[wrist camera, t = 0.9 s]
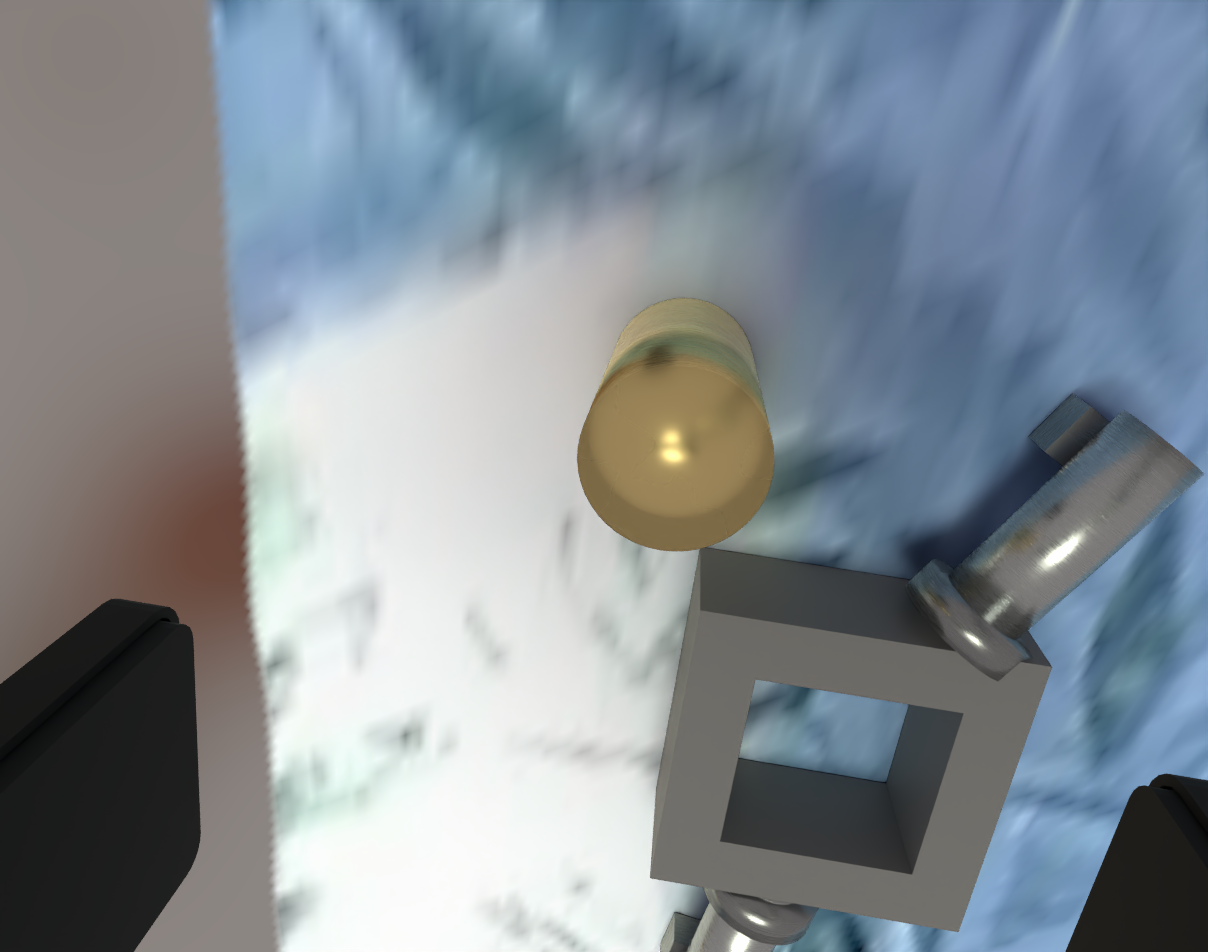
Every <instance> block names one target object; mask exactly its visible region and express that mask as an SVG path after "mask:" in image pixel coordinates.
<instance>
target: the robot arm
mask: <svg viewBox="0 0 1208 952" xmlns="http://www.w3.org/2000/svg"><path fill="white" fill-rule="evenodd" d="M193 647H194V646H193V635H192V631H191V629H190V627H188V626H187V625H184V624H179V618H178V616H177V614H176V612H175V611H174V610H173V609H171V608H170V607H165V606H159V605H153V604H147V603H141V602H135V601H129V600H123V599H111V600H109V601H107V602H105V603H103V604H102V605H101V606H99V607H98V608H97V609H96V610H94V611H93V612H92V613H90V614H89V615H88V616H87V617H85V618H84V619H83V620H82V621H80V622H79V623H78V624H76V625H75V626H74V627H73V628H71V629H70V630H69V631H67V632H66V633H65V634H64V635H62V636H61V637H60V638H59V639H57V640H56V641H55V642H54V643H52V644H51V645H50V646H48V647H47V648H46V649H45V650H43V651H42V652H41V653H39V654H38V655H37V656H36V657H34V658H33V659H32V660H31V661H29V662H28V663H27V664H25V665H24V666H23V667H22V668H20V669H19V670H18V671H17V672H15V673H14V674H13V675H12V676H10V677H9V678H8V679H6V680H5V681H4V682H3V683H1V684H0V952H134V951H135V949H136V947H137V946H138V945H139V943H140V942H141V940H142V939H143V938H144V936H145V935H146V933H147V932H148V930H149V929H150V928H151V926H152V925H153V923H154V922H155V920H156V919H157V917H158V916H159V915H160V913H161V912H162V910H163V909H164V907H165V906H166V904H167V903H168V902H169V900H170V899H171V897H172V896H173V894H174V893H175V891H176V890H177V889H178V887H179V886H180V884H181V883H182V881H183V880H184V878H185V877H186V876H187V874H188V872H189V871H190V869H191V867H192V865H193V862H194V860H195V858H196V855H197V852H198V848H199V843H200V834H201V830H200V803H199V778H198V753H197V752H198V751H197V724H196V698H195V671H194V648H193ZM1066 952H1208V780H1202V779H1196V778H1190V777H1184V776H1178V775H1172V774H1163V775H1158V776H1157V777H1156V778H1155V779H1154V780H1152V782H1151V783H1150V785H1149V786H1139V787H1138V788H1136V789H1135V790H1134V791H1133V793H1132V794H1131V796H1130V798H1129V800H1128V802H1127V805H1126V807H1125V810H1124V812H1123V815H1122V817H1121V819H1120V822H1119V824H1118V827H1117V829H1116V831H1115V834H1114V836H1113V839H1112V841H1111V843H1110V846H1109V848H1108V851H1107V853H1106V855H1105V858H1104V860H1103V863H1102V865H1101V867H1100V870H1099V872H1098V875H1097V877H1096V879H1095V882H1094V884H1093V887H1092V889H1091V891H1090V894H1089V896H1088V899H1087V901H1086V904H1085V906H1084V908H1083V911H1082V913H1081V916H1080V918H1079V920H1078V923H1077V925H1076V928H1075V930H1074V932H1073V935H1072V937H1071V940H1070V942H1069V944H1068V947H1067V949H1066Z"/></svg>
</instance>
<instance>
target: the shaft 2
mask: <svg viewBox="0 0 1208 952" xmlns="http://www.w3.org/2000/svg"><path fill="white" fill-rule="evenodd" d="M1029 438H1030V439H1032V440H1033V441H1034V442H1035V443H1036V444H1037V445H1038V446H1039V447H1040V448H1041V449H1042V450H1043V451H1045V452H1046V453H1047V454H1048V455H1049V456H1051V457H1052V458H1053V459H1054V460H1055V461H1057V462H1058V463H1059V464H1060V465H1061V466H1063V467H1062V468H1061V469H1060V470H1059V471H1058V472H1057V473H1056V474H1055V475H1054V476H1053V477H1052V478H1050V479H1049V480H1048V481H1047V482H1046V483H1045V484H1044V485H1043V486H1042V487H1041V488H1040V489H1039V490H1038V491H1037V492H1036V493H1035V494H1034V495H1033V496H1031V497H1030V498H1029V499H1028V500H1027V501H1026V502H1025V503H1024V504H1023V505H1022V506H1021V507H1020V508H1019V509H1018V510H1017V511H1016V512H1015V513H1013V514H1012V515H1011V516H1010V517H1009V518H1008V519H1007V520H1006V521H1005V522H1004V523H1003V524H1002V525H1001V526H1000V527H999V528H998V529H997V530H996V531H994V532H993V533H992V534H991V535H990V536H989V537H988V538H987V539H986V540H985V541H984V542H983V543H982V544H981V545H980V546H979V547H978V548H977V549H975V550H974V551H973V552H972V553H971V554H970V555H969V556H968V557H967V558H966V559H965V560H964V561H963V562H962V563H961V564H960V565H959V566H958V567H956V568H955V569H953V568H952V567H950V566H949V565H947V564H945V563H944V562H942V561H940V560H937V559H932V560H931V561H930V562H929V563H928V564H927V565H926V566H925V567H924V568H923V569H922V570H921V571H920V572H919V573H917V574H916V575H915V576H914V577H913V578H912V579H911V580H910V581H909V582H908V583H907V584H906V586H905V588H906V592H907V594H908V596H909V598H910V600H911V601H912V603H913V604H914V606H915V607H916V609H917V610H918V611H919V613H920V614H921V615H922V616H923V618H924V619H925V620H926V621H927V622H928V624H929V625H930V626H931V627H932V628H933V629H934V630H935V631H936V632H937V633H938V634H939V636H940V637H941V638H942V639H943V640H944V641H945V642H946V643H948V644H949V645H950V646H951V647H952V648H953V649H954V650H955V651H956V652H957V653H958V654H959V655H961V656H962V657H963V658H964V659H965V660H966V661H968V662H969V663H970V664H971V665H973V666H974V667H975V668H977V669H978V670H979V671H981V672H982V673H984V674H985V675H987V676H988V677H990V678H992V679H994V680H996V681H1000V680H1001V679H1002V678H1003V677H1004V676H1005V675H1006V674H1008V673H1009V672H1010V671H1011V670H1012V669H1013V668H1014V667H1016V666H1017V665H1018V664H1019V663H1020V662H1023V661H1027V660H1030V659H1032V658H1033V656H1032V655H1031V653H1030V652H1029V650H1028V649H1027V647H1026V645H1025V644H1024V642H1023V641H1022V639H1021V638H1020V637H1021V636H1022V635H1023V634H1024V633H1026V632H1027V631H1028V630H1029V629H1030V628H1031V627H1032V626H1033V625H1035V624H1036V623H1037V622H1038V621H1039V620H1040V619H1041V618H1043V617H1044V616H1045V615H1046V614H1047V613H1048V612H1049V611H1050V610H1052V609H1053V608H1054V607H1055V606H1056V605H1057V604H1058V603H1059V602H1061V601H1062V600H1063V599H1064V598H1065V597H1066V596H1067V595H1069V594H1070V593H1071V592H1072V591H1073V590H1074V589H1075V588H1076V587H1078V586H1079V585H1080V584H1081V583H1082V582H1083V581H1084V580H1086V579H1087V578H1088V577H1089V576H1090V575H1091V574H1092V573H1093V572H1095V571H1096V570H1097V569H1098V568H1099V567H1100V566H1101V565H1102V564H1104V563H1105V562H1106V561H1107V560H1108V559H1109V558H1110V557H1112V556H1113V555H1114V554H1115V553H1116V552H1117V551H1118V550H1119V549H1121V548H1122V547H1123V546H1124V545H1125V544H1126V543H1127V542H1128V541H1130V540H1131V539H1132V538H1133V537H1134V536H1135V535H1136V534H1138V533H1139V532H1140V531H1141V530H1142V529H1143V528H1144V527H1145V526H1147V525H1148V524H1149V523H1150V522H1151V521H1152V520H1153V519H1154V518H1156V517H1157V516H1158V515H1159V514H1160V513H1161V512H1162V511H1164V510H1165V509H1166V508H1167V507H1168V506H1169V505H1170V504H1171V503H1173V502H1174V501H1175V500H1176V499H1177V498H1178V497H1179V496H1180V495H1182V494H1183V493H1184V492H1185V491H1186V490H1187V489H1188V488H1190V487H1191V486H1192V485H1193V484H1194V483H1195V482H1196V481H1197V480H1199V479H1200V478H1201V477H1202V476H1203V475H1204V473H1203V472H1202V471H1201V470H1200V469H1199V468H1198V467H1196V466H1195V465H1194V464H1193V463H1192V462H1191V461H1190V460H1188V459H1187V458H1186V457H1185V456H1184V455H1183V454H1181V453H1180V452H1179V451H1178V450H1177V449H1175V448H1174V447H1173V446H1172V445H1170V444H1169V443H1168V442H1167V441H1165V440H1164V439H1163V438H1162V437H1160V436H1159V435H1158V434H1157V433H1155V432H1154V431H1153V430H1151V429H1150V428H1149V427H1147V426H1146V425H1145V424H1143V423H1142V422H1141V421H1139V420H1138V419H1137V418H1135V417H1134V416H1132V415H1131V414H1129V413H1128V412H1126V411H1125V410H1122V411H1121V412H1120V413H1119V414H1118V415H1117V416H1116V417H1115V418H1114V419H1113V420H1112V421H1111V422H1109V421H1107V420H1106V419H1105V418H1104V417H1103V416H1101V415H1100V414H1099V413H1098V412H1097V411H1096V410H1094V409H1093V408H1092V407H1091V406H1089V405H1088V404H1086V403H1085V402H1084V401H1082V400H1081V399H1079V398H1078V397H1076V396H1075V395H1074V394H1072V395H1070V396H1069V397H1068V398H1067V399H1066V400H1065V401H1064V402H1063V403H1062V404H1061V405H1060V406H1059V407H1058V408H1057V409H1056V410H1055V411H1054V412H1053V413H1052V414H1051V415H1050V416H1049V417H1048V418H1047V419H1046V420H1045V421H1044V422H1043V423H1042V424H1041V425H1040V426H1039V427H1038V428H1037V429H1036V430H1035V431H1034V432H1033V433H1032V434H1031V435H1030V436H1029Z"/></svg>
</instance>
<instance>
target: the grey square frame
mask: <svg viewBox="0 0 1208 952" xmlns="http://www.w3.org/2000/svg"><path fill="white" fill-rule="evenodd" d="M909 581H910V580H907V579H901V578H894V577H888V576H882V575H875V574H869V573H863V572H856V571H850V570H844V569H837V568H831V567H824V566H818V565H812V564H805V563H799V562H793V561H786V560H780V559H774V558H767V557H761V556H755V555H748V554H742V553H736V552H729V551H723V550H717V549H710V548H700V551H699V557H698V562H697V568H696V573H695V579H694V584H693V590H692V595H691V601H690V606H689V612H688V617H687V623H686V628H685V634H684V639H683V644H682V650H681V655H680V661H679V666H678V672H677V677H676V683H675V688H674V694H673V699H672V705H671V710H670V716H669V721H668V727H667V732H666V738H665V743H664V749H663V754H662V760H661V765H660V771H659V776H658V782H657V787H656V798H655V813H654V827H653V842H652V857H651V871H650V878H652V879H658V880H664V881H669V882H675V883H681V884H686V885H692V886H698V887H704V888H709V889H715V890H721V891H726V892H732V893H738V894H744V895H749V896H755V897H761V898H766V899H772V900H778V901H783V902H789V903H795V904H801V905H806V906H812V907H818V908H823V909H829V910H835V911H841V912H846V913H852V914H858V915H863V916H869V917H875V918H880V919H886V920H892V921H898V922H903V923H909V924H915V925H920V926H926V927H932V928H938V929H943V930H949V931H955V932H959V929H960V926H961V923H962V920H963V918H964V915H965V912H966V909H967V906H968V903H969V901H970V898H971V895H972V892H973V889H974V886H975V884H976V881H977V878H978V875H979V872H980V869H981V867H982V864H983V861H984V858H985V855H986V852H987V850H988V847H989V844H990V841H991V838H992V836H993V833H994V830H995V827H996V824H997V821H998V819H999V816H1000V813H1001V810H1002V807H1003V804H1004V802H1005V799H1006V796H1007V793H1008V790H1009V787H1010V785H1011V782H1012V779H1013V776H1014V773H1015V770H1016V768H1017V765H1018V762H1019V759H1020V756H1021V753H1022V751H1023V748H1024V745H1025V742H1026V739H1027V736H1028V734H1029V731H1030V728H1031V725H1032V722H1033V719H1034V717H1035V714H1036V711H1037V708H1038V705H1039V702H1040V700H1041V697H1042V694H1043V691H1044V688H1045V685H1046V683H1047V680H1048V677H1049V674H1050V671H1051V668H1052V666H1051V665H1050V663H1049V662H1048V660H1047V659H1046V657H1045V656H1044V654H1043V653H1042V651H1041V650H1040V648H1039V647H1038V645H1037V643H1036V642H1035V640H1034V639H1033V637H1032V636H1031V634H1030V633H1029V631H1027V632H1026V633H1024V634H1023V635H1022V636H1021V637H1020V638H1021V639H1022V641H1023V642H1024V644H1025V645H1026V647H1027V649H1028V650H1029V652H1030V653H1031V655H1032V656H1033V658H1032V659H1030V660H1027V661H1023V662H1020V663H1019V664H1018V665H1017V666H1016V667H1014V668H1013V669H1012V670H1011V671H1010V672H1009V673H1008V674H1006V675H1005V676H1004V677H1003V678H1002V679H1001V680H1000V681H996V680H994V679H992V678H990V677H988V676H987V675H985V674H984V673H982V672H981V671H979V670H978V669H977V668H975V667H974V666H973V665H971V664H970V663H969V662H968V661H966V660H965V659H964V658H963V657H962V656H961V655H959V654H958V653H957V652H956V651H955V650H954V649H953V648H952V647H951V646H950V645H949V644H948V643H946V642H945V641H944V640H943V639H942V638H941V637H940V636H939V634H938V633H937V632H936V631H935V630H934V629H933V628H932V627H931V626H930V625H929V624H928V622H927V621H926V620H925V619H924V618H923V616H922V615H921V614H920V613H919V611H918V610H917V609H916V607H915V606H914V604H913V603H912V601H911V600H910V598H909V596H908V594H907V592H906V588H905V586H906V584H907V583H908V582H909ZM755 679H757V680H764V681H770V682H776V683H782V684H788V685H794V686H800V687H806V688H812V689H818V690H825V691H831V692H837V693H843V694H849V695H855V696H861V697H867V698H873V699H879V700H886V701H892V702H898V703H904V704H909V707H908V711H907V714H906V718H905V721H904V724H903V728H902V731H901V735H900V738H899V741H898V745H897V748H896V752H895V755H894V759H893V762H892V765H891V769H890V772H889V776H888V779H887V782H886V783H881V782H875V781H869V780H863V779H857V778H851V777H845V776H839V775H833V774H827V773H821V772H815V771H809V770H803V769H797V768H791V767H785V766H780V765H774V764H768V763H762V762H756V761H750V760H744V759H738V756H739V752H740V747H741V743H742V738H743V733H744V729H745V724H746V720H747V715H748V711H749V706H750V701H751V697H752V692H753V688H754V683H755Z"/></svg>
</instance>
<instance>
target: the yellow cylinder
mask: <svg viewBox="0 0 1208 952" xmlns="http://www.w3.org/2000/svg"><path fill="white" fill-rule="evenodd" d="M577 462H578V472H579V477H580V481H581V484H582V487H583V490H584V493H585V495H586V497H587V499H588V501H589V502H590V504H591V506H592V507H593V509H594V510H595V512H596V513H597V514H598V515H599V517H600V518H601V519H602V520H603V521H604V522H605V523H606V524H607V525H608V526H609V527H611V528H612V529H613V530H614V531H615V532H617V533H619V534H620V535H622V536H623V537H625V538H627V539H629V540H631V541H633V542H635V543H637V544H640V545H643V546H645V547H648V548H653V549H657V550H664V551H689V550H696V549H700V548H704V547H708V546H711V545H713V544H716V543H718V542H721V541H723V540H724V539H726V538H728V537H730V536H732V535H733V534H734V533H736V532H737V531H739V530H740V529H741V528H742V527H743V526H744V525H746V524H747V523H748V522H749V521H750V520H751V519H752V517H753V516H754V515H755V514H756V512H757V511H758V510H759V508H760V506H761V505H762V503H763V502H764V500H765V498H766V495H767V493H768V491H769V488H770V485H771V481H772V478H773V471H774V448H773V441H772V437H771V432H770V428H769V424H768V419H767V415H766V411H765V406H764V402H763V397H762V393H761V389H760V384H759V380H758V376H757V371H756V367H755V363H754V358H753V354H752V350H751V347H750V343H749V341H748V339H747V337H746V335H745V333H744V331H743V330H742V328H741V327H740V325H739V324H738V323H737V322H736V321H735V319H733V318H732V317H731V316H730V315H729V314H728V313H727V312H725V311H724V310H722V309H721V308H719V307H717V306H715V305H713V304H711V303H708V302H705V301H702V300H697V299H691V298H675V299H670V300H665V301H662V302H659V303H656V304H654V305H652V306H650V307H648V308H646V309H645V310H643V311H642V312H640V313H639V314H638V315H637V316H635V317H634V318H633V319H632V320H631V321H630V323H629V324H628V325H627V326H626V328H625V329H624V331H623V332H622V334H621V336H620V338H619V340H618V342H617V344H616V347H615V349H614V352H613V354H612V357H611V359H610V361H609V364H608V366H607V369H606V371H605V374H604V376H603V379H602V381H601V384H600V386H599V389H598V391H597V393H596V396H595V398H594V401H593V403H592V406H591V408H590V411H589V413H588V416H587V418H586V420H585V423H584V426H583V429H582V432H581V434H580V439H579V444H578V455H577Z"/></svg>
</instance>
